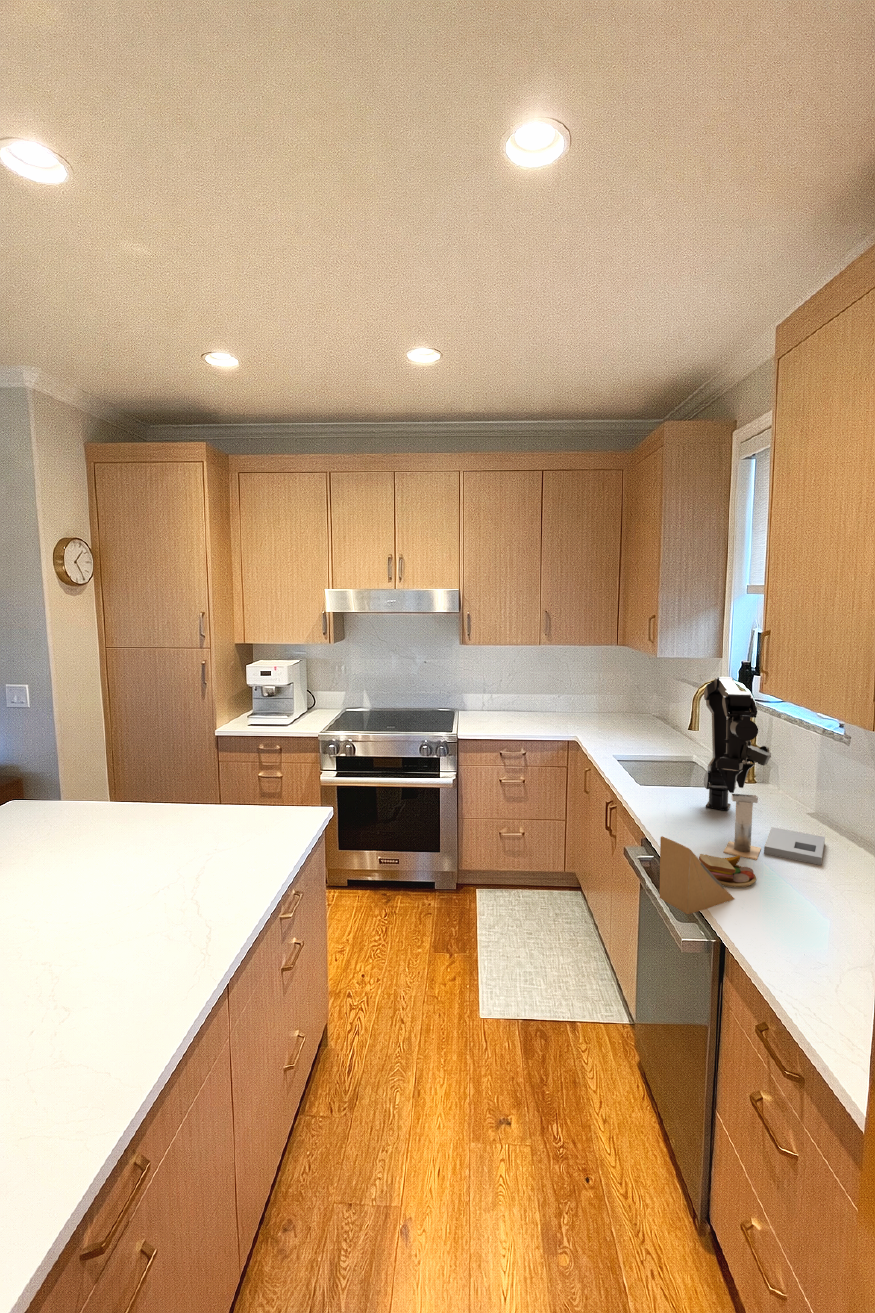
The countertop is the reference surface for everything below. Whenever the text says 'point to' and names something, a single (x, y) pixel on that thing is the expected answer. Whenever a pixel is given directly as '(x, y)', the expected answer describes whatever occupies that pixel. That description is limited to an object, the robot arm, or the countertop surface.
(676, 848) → the sandwich container
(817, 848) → the cover plate
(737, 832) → the t key
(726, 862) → the toy sandwich meal
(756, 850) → the coaster
